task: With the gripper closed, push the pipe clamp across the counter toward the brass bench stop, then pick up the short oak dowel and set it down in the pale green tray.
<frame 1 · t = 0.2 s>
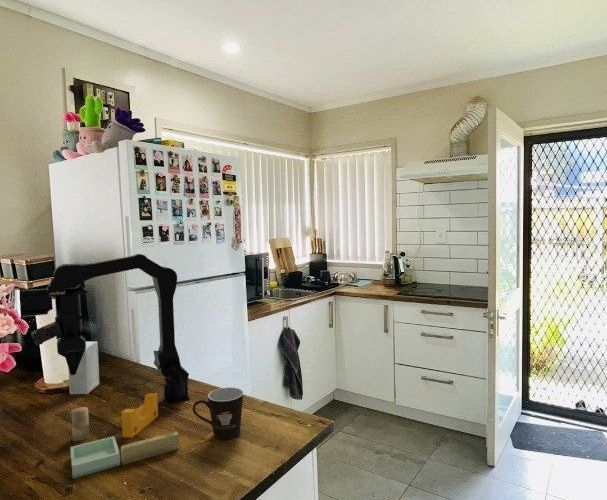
hand: (72, 369, 111), 14 cm above the countertop, tool pointing down, fingers open, 9 cm apart
oak dowel: (81, 437, 103), on the countertop
tray: (95, 461, 92), on the countertop
skincare box: (85, 390, 134), on the countertop
bench stop: (151, 454, 94), on the countertop
pipe clamp: (138, 427, 109), on the countertop
coffee mug: (221, 433, 104), on the countertop
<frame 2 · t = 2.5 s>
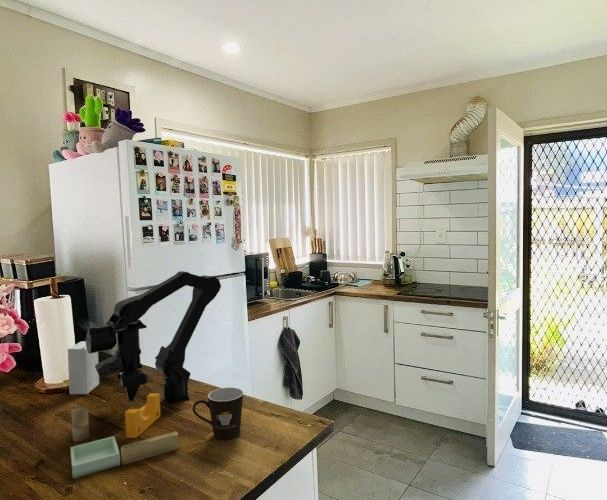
hand: (131, 400, 117), 3 cm above the countertop, tool pointing down, fingers closed
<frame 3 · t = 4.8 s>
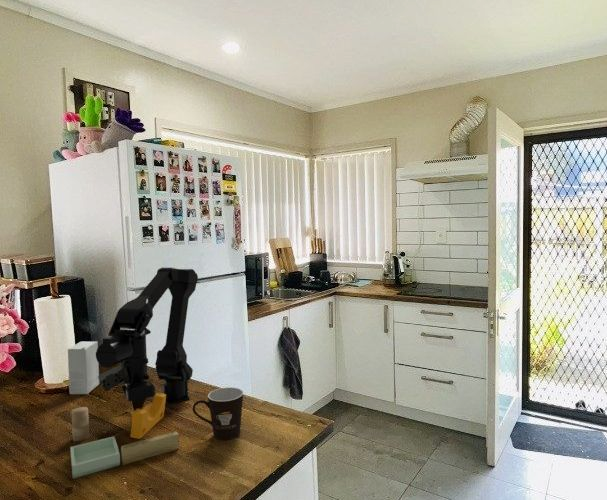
hand: (136, 414, 108), 3 cm above the countertop, tool pointing down, fingers closed
pipe clamp: (144, 426, 108), on the countertop
everything else where it was.
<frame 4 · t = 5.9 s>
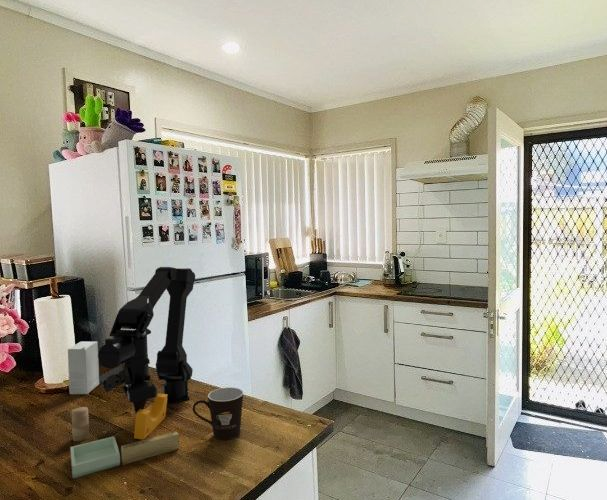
hand: (138, 415, 107), 3 cm above the countertop, tool pointing down, fingers closed
pipe clamp: (147, 427, 107), on the countertop, touching gripper
everything else where it was.
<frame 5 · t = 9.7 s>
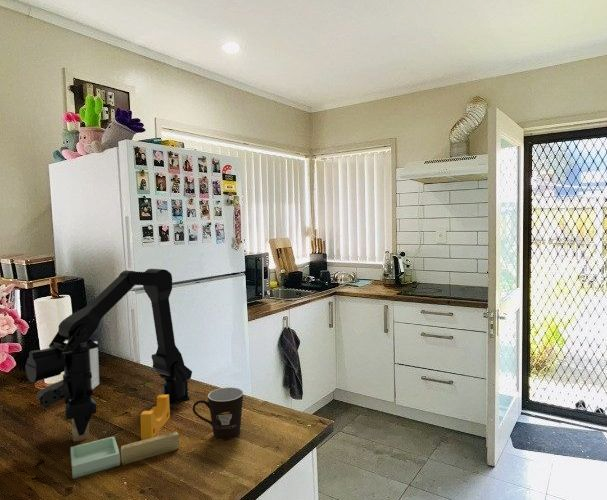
hand: (80, 431, 103), 2 cm above the countertop, tool pointing down, fingers closed on oak dowel, 4 cm apart
oak dowel: (81, 437, 103), on the countertop, touching gripper
pipe clamp: (153, 429, 107), on the countertop
everything else where it was.
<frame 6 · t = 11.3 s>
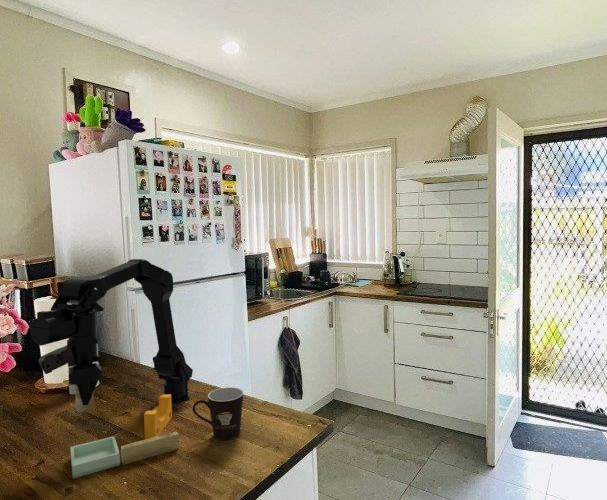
hand: (85, 402, 95), 12 cm above the countertop, tool pointing down, fingers closed on oak dowel, 4 cm apart
oak dowel: (85, 408, 95), point 10 cm above the countertop, touching gripper
everything else where it was.
when the fingers open (4 cm above the countertop, at t = 13.4 s): oak dowel drops 2 cm, resting on tray.
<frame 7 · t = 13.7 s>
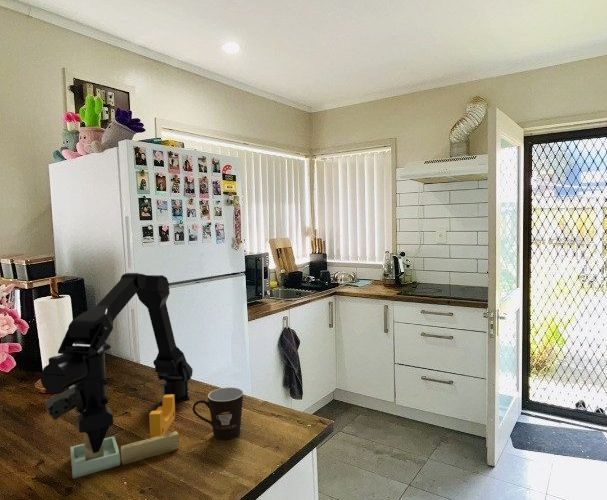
hand: (94, 444, 92), 4 cm above the countertop, tool pointing down, fingers open, 7 cm apart
oak dowel: (94, 458, 92), point 1 cm above the countertop, touching tray
pipe clamp: (160, 429, 107), on the countertop
everything else where it was.
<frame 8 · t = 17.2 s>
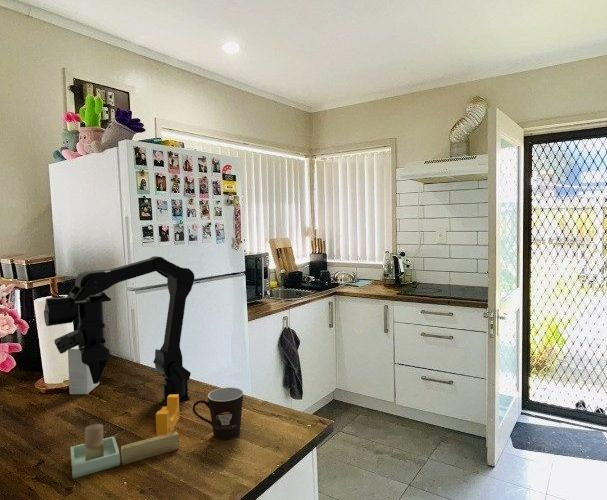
hand: (94, 378, 110), 12 cm above the countertop, tool pointing down, fingers open, 9 cm apart
pipe clamp: (165, 429, 107), on the countertop
everything else where it was.
at the end: pipe clamp inside the target area (6.8 cm from its centre), on the countertop; pipe clamp moved 8.0 cm from its start; oak dowel inside the target area on the tray (0.1 cm from its centre), point 0.6 cm above the tray's base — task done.
